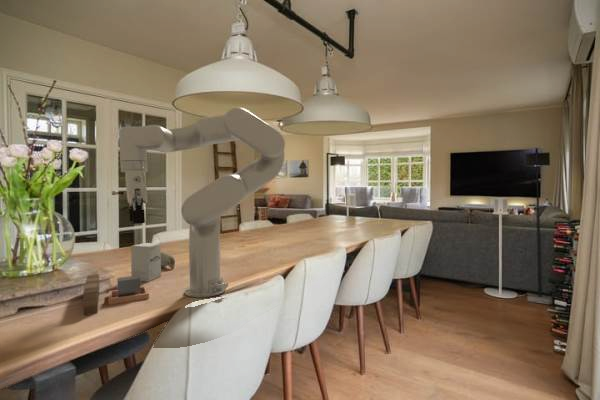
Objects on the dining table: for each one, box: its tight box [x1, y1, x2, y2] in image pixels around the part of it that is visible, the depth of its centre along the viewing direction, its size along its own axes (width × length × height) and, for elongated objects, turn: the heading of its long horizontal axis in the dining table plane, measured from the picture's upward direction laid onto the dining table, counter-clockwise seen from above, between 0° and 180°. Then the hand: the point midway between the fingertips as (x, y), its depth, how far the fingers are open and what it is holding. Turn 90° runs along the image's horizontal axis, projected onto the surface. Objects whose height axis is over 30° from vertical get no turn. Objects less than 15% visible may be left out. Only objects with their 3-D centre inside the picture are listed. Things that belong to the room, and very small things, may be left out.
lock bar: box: [116, 275, 142, 297], centre depth 103 cm, size 6×4×6 cm, turn 120°
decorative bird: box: [161, 251, 176, 270], centre depth 141 cm, size 5×16×8 cm, turn 61°
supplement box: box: [130, 242, 162, 282], centre depth 124 cm, size 7×7×13 cm
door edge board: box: [82, 273, 100, 316], centre depth 98 cm, size 20×3×6 cm, turn 29°
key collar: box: [108, 285, 150, 305], centre depth 103 cm, size 11×9×2 cm
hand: (137, 222), depth 106 cm, fingers open, 9 cm apart
